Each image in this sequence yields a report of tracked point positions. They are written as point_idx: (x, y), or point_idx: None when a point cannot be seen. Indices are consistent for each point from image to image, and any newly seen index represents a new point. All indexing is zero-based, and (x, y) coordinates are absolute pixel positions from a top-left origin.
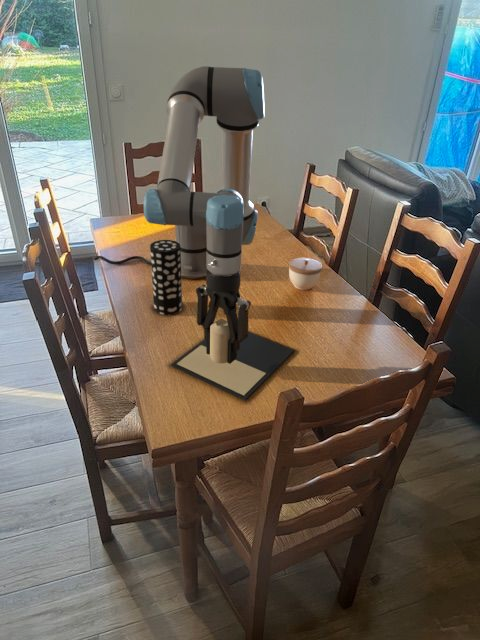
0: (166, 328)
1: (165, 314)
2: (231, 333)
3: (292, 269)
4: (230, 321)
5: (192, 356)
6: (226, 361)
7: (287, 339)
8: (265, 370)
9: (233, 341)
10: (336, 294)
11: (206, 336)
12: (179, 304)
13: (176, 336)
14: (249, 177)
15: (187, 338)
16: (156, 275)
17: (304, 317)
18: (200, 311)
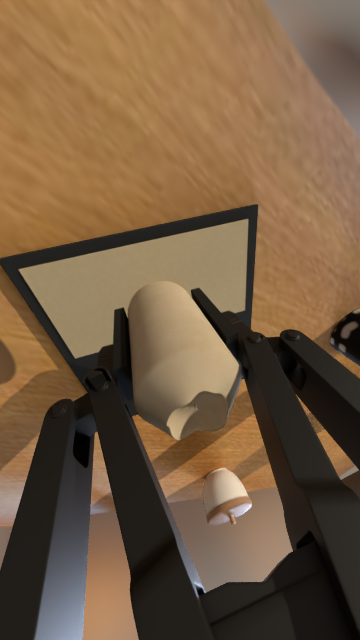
0: (330, 290)
1: (350, 314)
2: (112, 408)
3: (238, 500)
4: (123, 494)
5: (234, 270)
6: (128, 308)
7: (142, 425)
8: (86, 362)
9: (83, 380)
10: (174, 492)
11: (229, 320)
12: (344, 346)
13: (301, 290)
14: None
15: (279, 303)
16: None
17: (167, 457)
18: (347, 393)
